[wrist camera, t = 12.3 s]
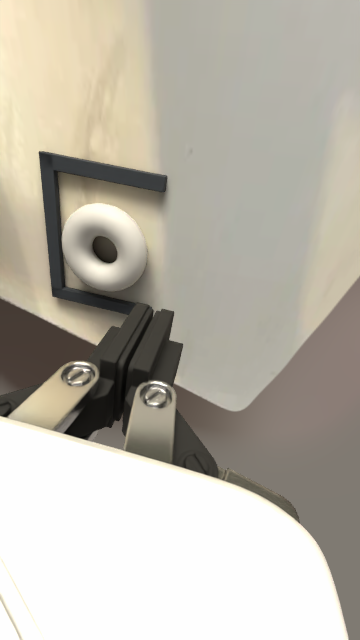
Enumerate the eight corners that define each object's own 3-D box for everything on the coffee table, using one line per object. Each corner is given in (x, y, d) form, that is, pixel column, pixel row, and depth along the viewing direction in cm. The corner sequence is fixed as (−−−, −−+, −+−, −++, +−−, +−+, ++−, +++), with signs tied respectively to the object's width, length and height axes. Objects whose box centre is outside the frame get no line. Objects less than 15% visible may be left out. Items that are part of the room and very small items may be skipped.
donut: (148, 200, 31) (62, 200, 33) (138, 206, 28) (44, 205, 30) (154, 286, 36) (79, 282, 38) (146, 299, 33) (66, 293, 35)
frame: (55, 293, 40) (52, 296, 39) (43, 151, 30) (38, 151, 30) (150, 316, 38) (149, 320, 38) (167, 175, 29) (165, 176, 29)
